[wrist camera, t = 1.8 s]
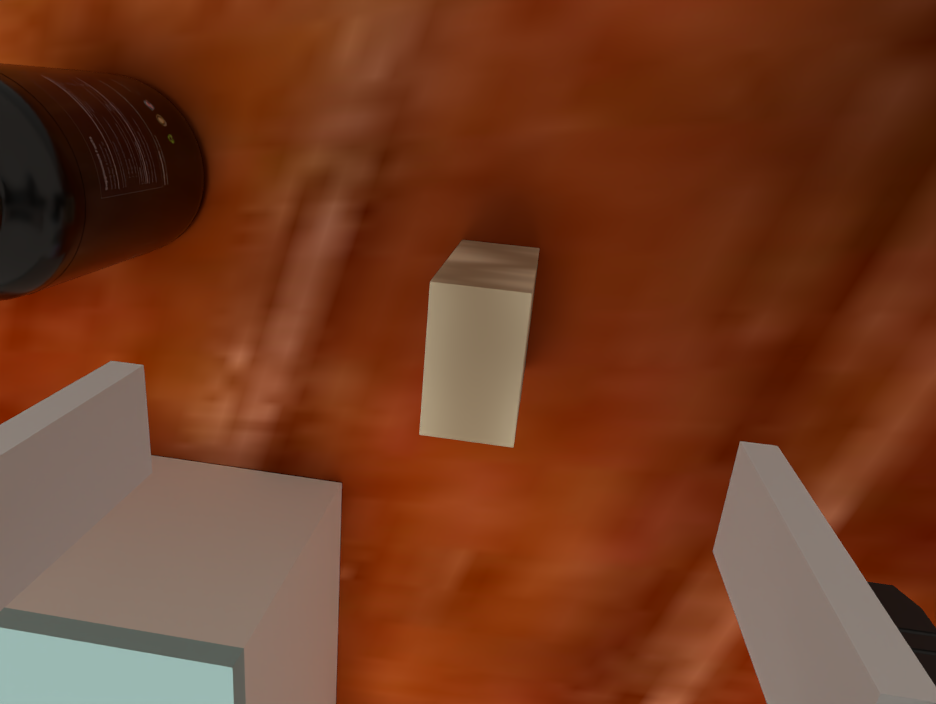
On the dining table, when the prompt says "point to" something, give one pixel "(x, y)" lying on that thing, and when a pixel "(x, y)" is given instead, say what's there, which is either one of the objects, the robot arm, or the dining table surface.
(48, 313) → the dining table surface
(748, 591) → the robot arm
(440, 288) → the beige rectangular block
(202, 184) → the supplement bottle
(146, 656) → the box
